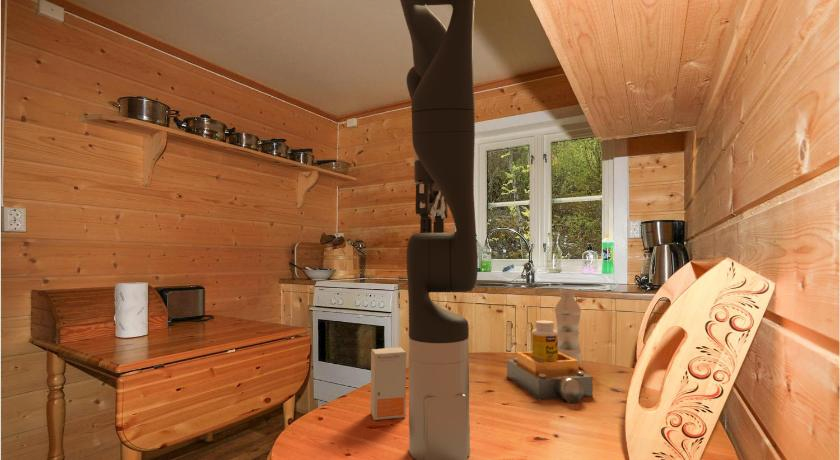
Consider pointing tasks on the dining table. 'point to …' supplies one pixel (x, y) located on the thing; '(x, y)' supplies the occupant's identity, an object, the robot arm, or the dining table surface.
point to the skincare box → (388, 383)
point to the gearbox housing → (550, 377)
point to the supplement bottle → (545, 341)
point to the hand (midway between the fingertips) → (432, 237)
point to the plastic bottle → (568, 324)
